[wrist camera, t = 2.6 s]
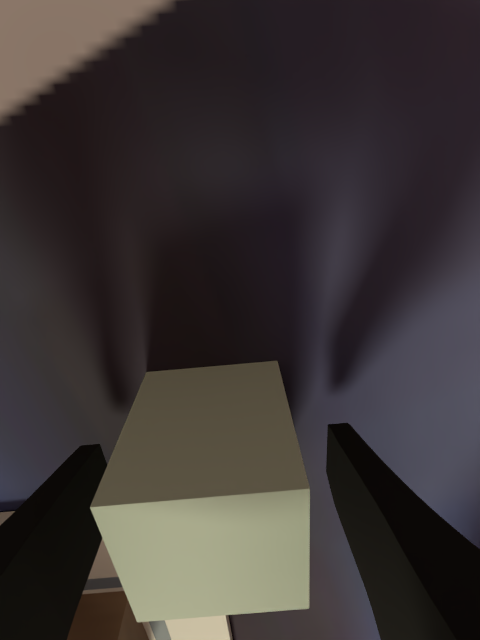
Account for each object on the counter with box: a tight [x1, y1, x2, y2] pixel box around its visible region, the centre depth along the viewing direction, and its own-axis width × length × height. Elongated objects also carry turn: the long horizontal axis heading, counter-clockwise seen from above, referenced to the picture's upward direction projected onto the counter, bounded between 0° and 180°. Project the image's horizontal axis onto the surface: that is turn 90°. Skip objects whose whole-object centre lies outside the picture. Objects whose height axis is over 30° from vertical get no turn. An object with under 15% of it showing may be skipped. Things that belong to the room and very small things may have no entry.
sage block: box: [90, 361, 310, 622], centre depth 10 cm, size 4×4×5 cm
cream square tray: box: [0, 511, 233, 640], centre depth 16 cm, size 12×14×1 cm
